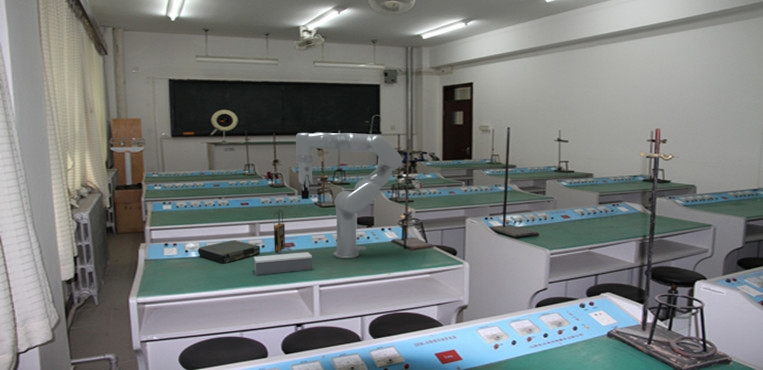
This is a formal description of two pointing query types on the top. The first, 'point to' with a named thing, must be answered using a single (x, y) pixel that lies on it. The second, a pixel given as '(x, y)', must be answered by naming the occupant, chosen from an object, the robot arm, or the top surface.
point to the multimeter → (279, 235)
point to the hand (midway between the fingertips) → (305, 198)
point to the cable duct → (282, 266)
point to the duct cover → (282, 257)
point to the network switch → (228, 251)
